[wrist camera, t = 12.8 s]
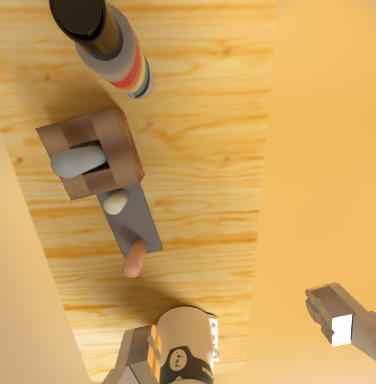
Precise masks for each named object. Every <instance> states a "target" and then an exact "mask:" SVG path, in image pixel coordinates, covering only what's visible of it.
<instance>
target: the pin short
mask: <svg viewBox="0 0 376 384" xmlns="http://www.w3.org/2000/svg"><path fill="white" fill-rule="evenodd" d="M128 200H129V195H128V193H127V192H126V191H125V190H122V189H119V190H116V191H115V192H114V193H113V194H112V195H111V196H109V197H108V198H107V199H106V200H105V202H104V204H103V207H104V210H105V211H106V212H107V213H109V214H112V215H115V214H118V213H119V212H120V211H121V210H122V208H123V207H124V206H125V204H126V203H127V201H128Z"/></svg>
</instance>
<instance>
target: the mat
mask: <svg viewBox="0 0 376 384" xmlns="http://www.w3.org/2000/svg"><path fill="white" fill-rule="evenodd" d="M119 189H122V190H125V191H126V192H127V193H128V195H129V200H128V201H127V203H126V204H125V206H124V207H123V208H122V210H121V211H120V212H119V213H118V214H115V215H112V214H109V213H107V212H106V211H105V210H104V207H103V204H104V202H105V200H106V199H107V198H108V197H109V196H111V195H112V194H113V193H114V192H115V191H116V190H119ZM119 189H115V190H111V191H107V192H103V193H99V194H97V197H98V199H99V201H100V203H101V206H102V208H103V210H104V213H105V215H106V217H107V219H108V222H109V224H110V226H111V228H112V231H113V233H114V235H115V238H116V240H117V242H118V244H119V247H120V249H121V251H122V253H123V256H124V258H127V257H128V254H129V252H130V249H131V247H132V244H133V242H134V241H135V240H137V239H143V240H145V241H146V243H147V248H146V252H145V254H146V253H150V252H154V251H158V250H162V249H163V248H162V245H161V242H160V240H159V237H158V234H157V231H156V228H155V225H154V222H153V220H152V217H151V214H150V211H149V208H148V205H147V202H146V200H145V197H144V194H143V191H142V188H141V185H140V182H139V184H135V185H131V186H127V187H123V188H119Z"/></svg>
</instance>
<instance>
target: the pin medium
mask: <svg viewBox="0 0 376 384" xmlns="http://www.w3.org/2000/svg"><path fill="white" fill-rule="evenodd" d="M146 248H147V243H146V241H145V240H143V239H137V240H135V241H134V242H133V244H132V247H131V249H130V252H129V254H128V257H127V259H126V262H125V264H124V267H123V270H122V271H123V274H124V275H125V276H127V277H129V278H134V277H137V276H138V275H139V274H140V271H141V267H142V263H143V260H144V256H145V252H146Z"/></svg>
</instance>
